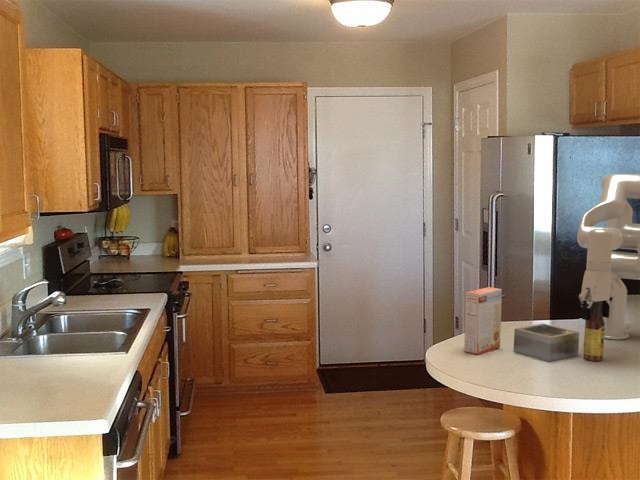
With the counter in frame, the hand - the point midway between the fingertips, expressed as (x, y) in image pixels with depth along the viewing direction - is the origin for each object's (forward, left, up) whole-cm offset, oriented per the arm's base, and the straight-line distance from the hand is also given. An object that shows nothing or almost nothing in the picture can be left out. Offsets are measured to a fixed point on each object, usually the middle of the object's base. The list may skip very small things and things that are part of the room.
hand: (595, 318), depth 258 cm
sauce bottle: (-1, 0, -14) cm, 14 cm away
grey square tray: (+6, -13, -14) cm, 20 cm away
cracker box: (+22, -28, -14) cm, 39 cm away
